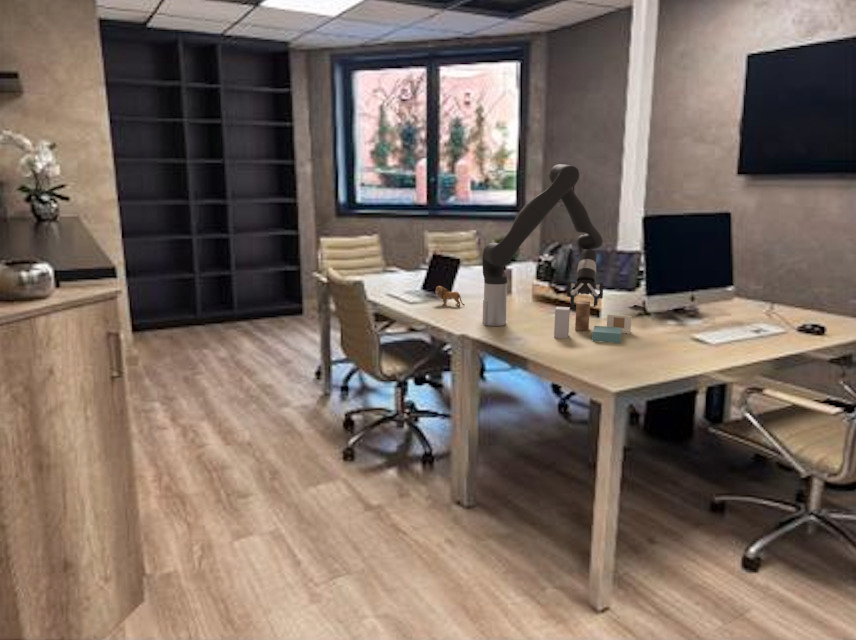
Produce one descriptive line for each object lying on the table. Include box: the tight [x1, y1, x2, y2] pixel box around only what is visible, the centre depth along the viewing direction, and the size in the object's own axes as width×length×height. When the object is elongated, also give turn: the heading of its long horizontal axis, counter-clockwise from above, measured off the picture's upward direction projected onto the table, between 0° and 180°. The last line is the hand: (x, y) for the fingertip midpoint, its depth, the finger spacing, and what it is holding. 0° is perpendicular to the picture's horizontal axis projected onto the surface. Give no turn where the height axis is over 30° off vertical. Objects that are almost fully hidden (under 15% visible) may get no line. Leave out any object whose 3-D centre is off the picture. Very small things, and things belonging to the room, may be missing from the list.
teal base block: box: [591, 325, 623, 344], centre depth 241 cm, size 10×10×4 cm
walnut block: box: [574, 300, 591, 332], centre depth 255 cm, size 5×5×11 cm
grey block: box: [553, 306, 571, 339], centre depth 244 cm, size 5×5×11 cm
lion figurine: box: [435, 285, 466, 308], centre depth 302 cm, size 15×5×9 cm, turn 70°
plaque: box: [606, 314, 632, 335], centre depth 252 cm, size 9×4×7 cm, turn 74°
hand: (583, 305), depth 257 cm, fingers open, 8 cm apart
